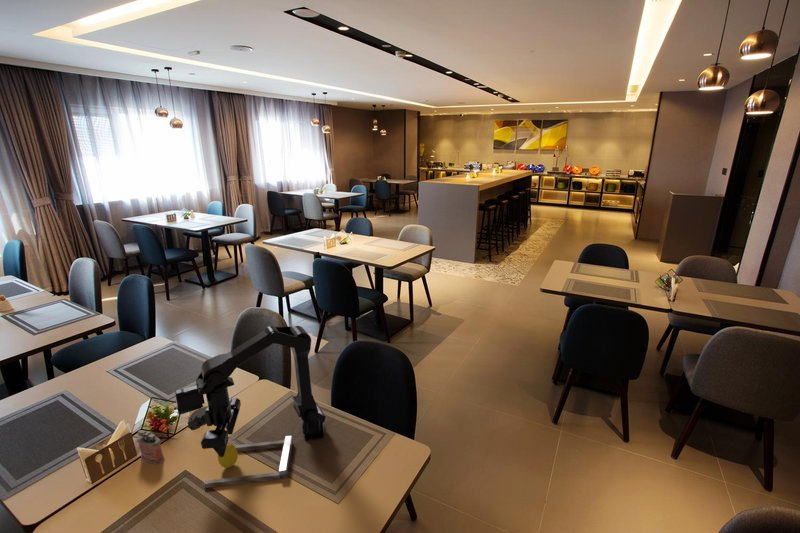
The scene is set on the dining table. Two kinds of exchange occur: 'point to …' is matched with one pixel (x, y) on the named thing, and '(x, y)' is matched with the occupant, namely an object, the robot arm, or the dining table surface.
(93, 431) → the dining table surface
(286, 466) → the channel
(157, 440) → the pink grey container
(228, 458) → the lemon
